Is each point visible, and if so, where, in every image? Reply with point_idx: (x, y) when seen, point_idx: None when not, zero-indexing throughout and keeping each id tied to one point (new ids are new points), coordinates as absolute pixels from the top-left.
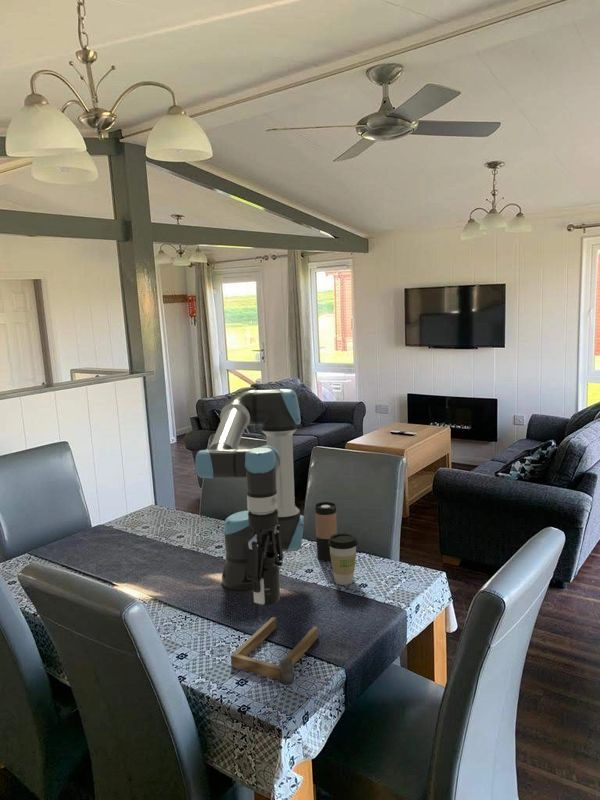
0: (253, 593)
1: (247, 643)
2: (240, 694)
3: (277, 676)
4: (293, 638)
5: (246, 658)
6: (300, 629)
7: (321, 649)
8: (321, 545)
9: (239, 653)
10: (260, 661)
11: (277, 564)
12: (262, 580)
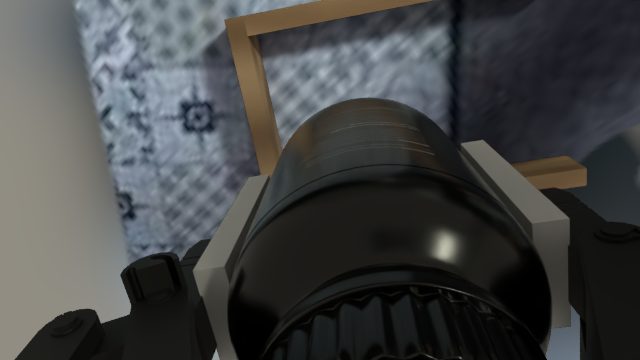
0: (289, 143)
1: (330, 15)
2: (153, 156)
3: None
4: (517, 95)
5: (248, 89)
6: (592, 77)
7: None
8: None
9: (263, 32)
10: (267, 147)
11: (581, 339)
12: (233, 357)
